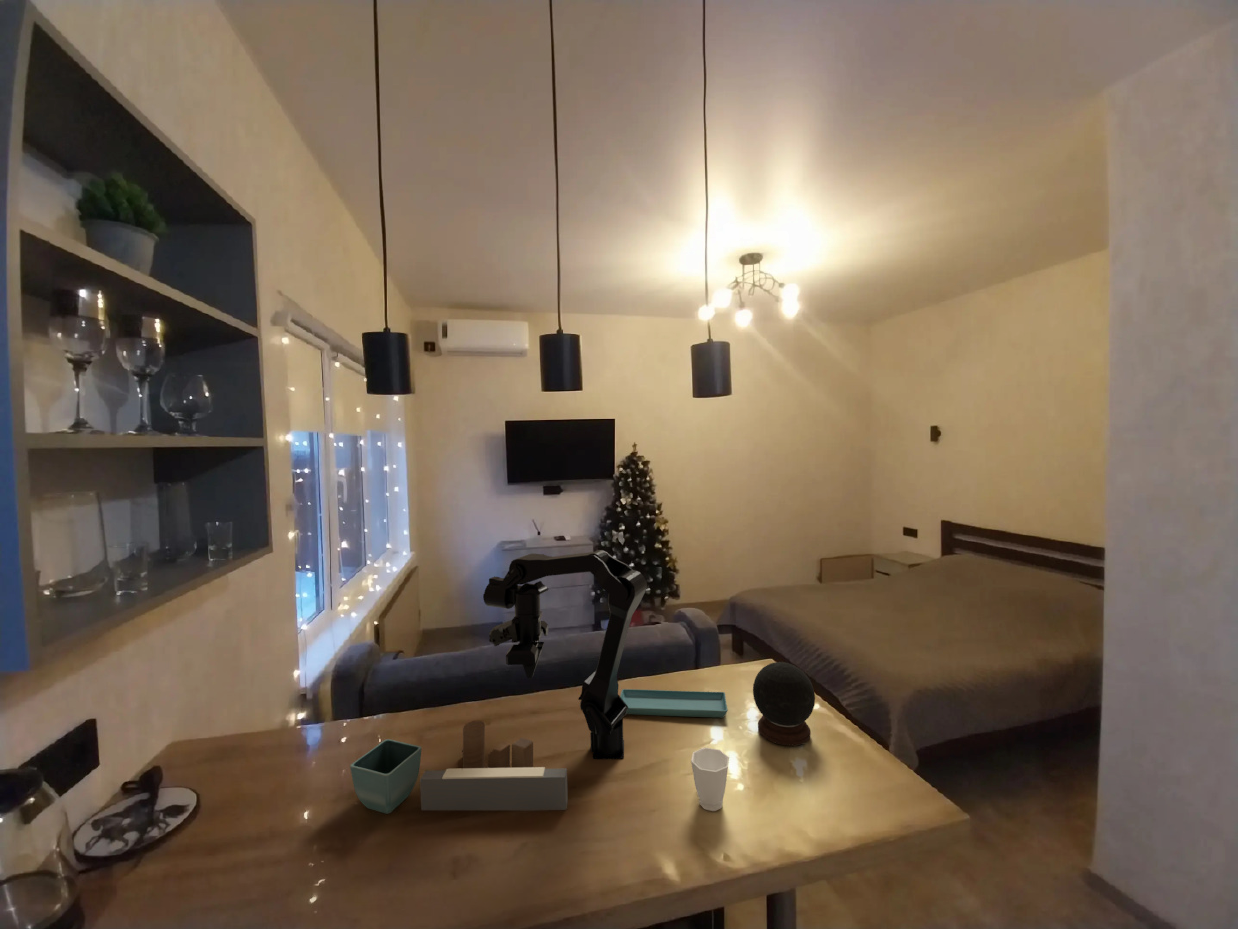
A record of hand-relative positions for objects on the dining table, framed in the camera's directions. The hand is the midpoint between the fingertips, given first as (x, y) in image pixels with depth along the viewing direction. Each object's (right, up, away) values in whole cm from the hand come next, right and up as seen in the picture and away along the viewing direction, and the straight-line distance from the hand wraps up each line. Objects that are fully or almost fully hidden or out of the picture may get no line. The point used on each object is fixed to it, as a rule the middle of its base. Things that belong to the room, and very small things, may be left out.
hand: (529, 678), depth 114 cm
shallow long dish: (+34, -12, +9) cm, 37 cm away
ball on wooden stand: (+57, -11, -2) cm, 58 cm away
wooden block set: (-5, -13, -15) cm, 21 cm away
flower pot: (-22, -14, -22) cm, 34 cm away
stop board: (-2, -13, -24) cm, 27 cm away
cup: (+37, -12, -22) cm, 45 cm away
